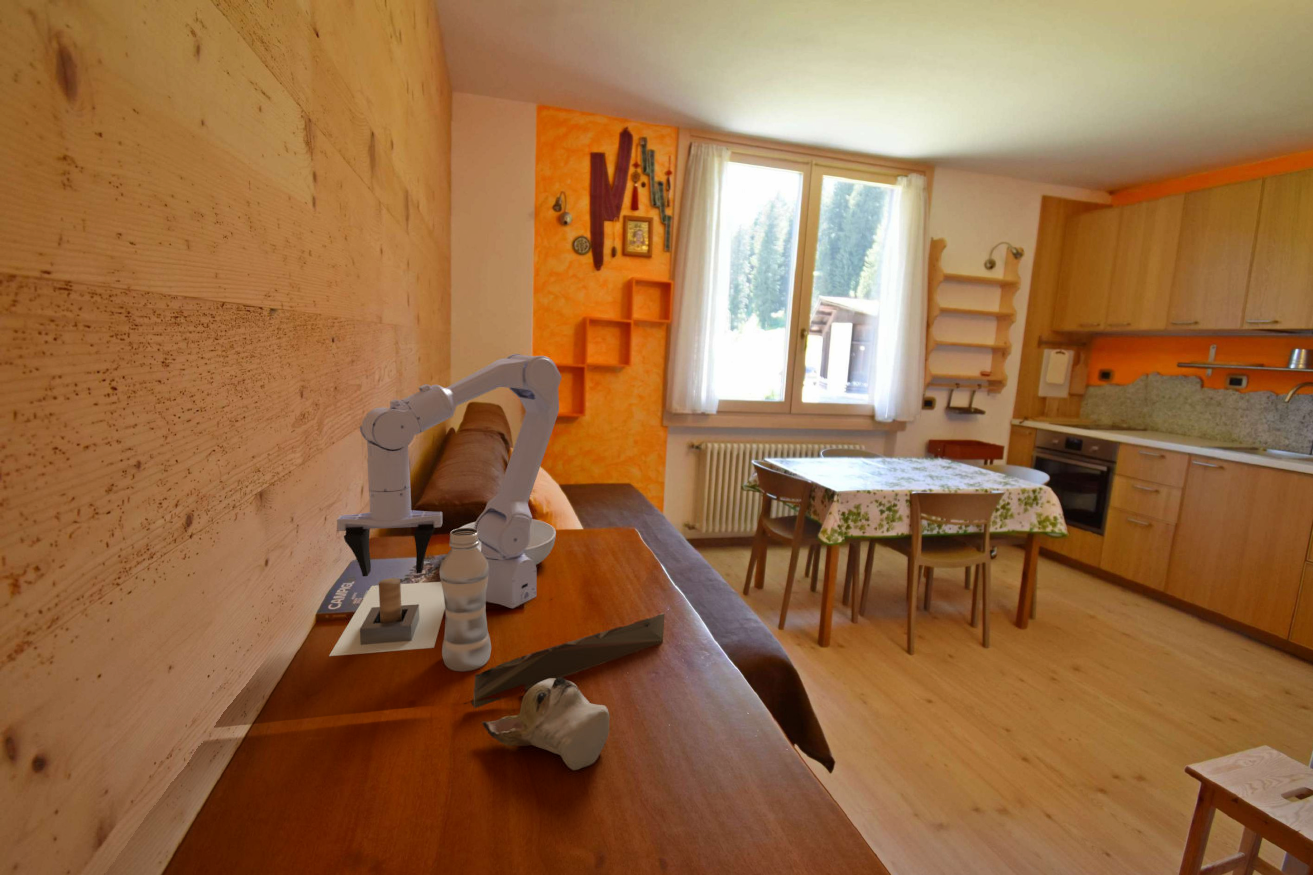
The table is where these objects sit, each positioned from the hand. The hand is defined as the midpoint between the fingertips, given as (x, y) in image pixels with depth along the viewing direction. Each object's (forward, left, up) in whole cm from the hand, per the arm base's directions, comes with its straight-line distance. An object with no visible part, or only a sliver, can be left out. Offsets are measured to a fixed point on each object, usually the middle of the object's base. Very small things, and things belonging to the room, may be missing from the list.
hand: (393, 572), depth 89 cm
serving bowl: (+7, -30, -10) cm, 32 cm away
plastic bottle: (-17, 0, -10) cm, 20 cm away
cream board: (+3, -3, -10) cm, 11 cm away
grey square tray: (-1, +1, -9) cm, 9 cm away
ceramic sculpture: (-38, +5, -10) cm, 40 cm away
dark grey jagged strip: (-30, -8, -10) cm, 33 cm away
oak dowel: (-1, +1, -9) cm, 9 cm away
